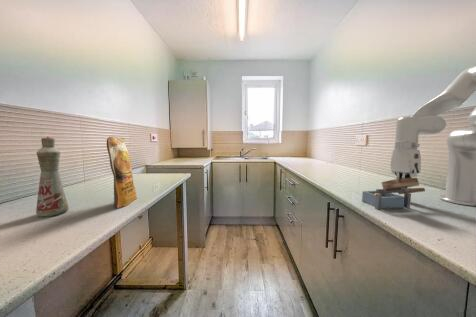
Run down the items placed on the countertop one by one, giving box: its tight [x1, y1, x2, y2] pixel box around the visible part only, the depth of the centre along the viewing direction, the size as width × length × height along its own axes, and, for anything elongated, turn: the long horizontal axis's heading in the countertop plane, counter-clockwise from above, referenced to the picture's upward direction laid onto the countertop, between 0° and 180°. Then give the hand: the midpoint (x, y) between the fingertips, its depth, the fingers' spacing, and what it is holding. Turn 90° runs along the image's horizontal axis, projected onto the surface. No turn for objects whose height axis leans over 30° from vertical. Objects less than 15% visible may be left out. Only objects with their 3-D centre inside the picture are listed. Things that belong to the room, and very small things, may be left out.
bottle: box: [35, 136, 70, 218], centre depth 72 cm, size 9×9×28 cm
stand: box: [374, 193, 412, 211], centre depth 78 cm, size 2×14×6 cm, turn 97°
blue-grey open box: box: [361, 190, 404, 210], centre depth 83 cm, size 10×10×4 cm
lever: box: [375, 177, 426, 195], centre depth 80 cm, size 18×22×4 cm
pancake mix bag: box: [106, 136, 138, 209], centre depth 85 cm, size 7×19×28 cm, turn 5°
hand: (402, 188), depth 88 cm, fingers closed
